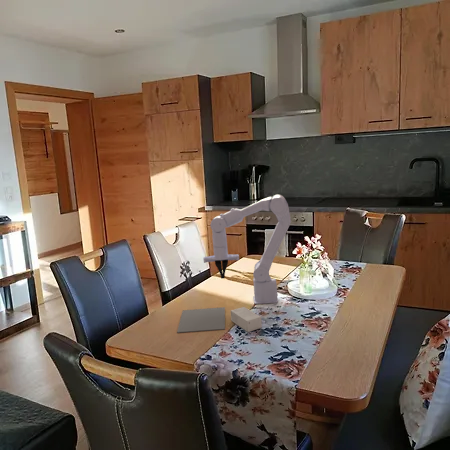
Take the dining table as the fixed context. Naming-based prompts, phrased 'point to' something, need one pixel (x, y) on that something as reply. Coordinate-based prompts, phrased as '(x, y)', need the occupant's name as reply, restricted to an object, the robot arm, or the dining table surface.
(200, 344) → the dining table surface
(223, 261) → the robot arm
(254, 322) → the skincare box
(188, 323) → the mat
